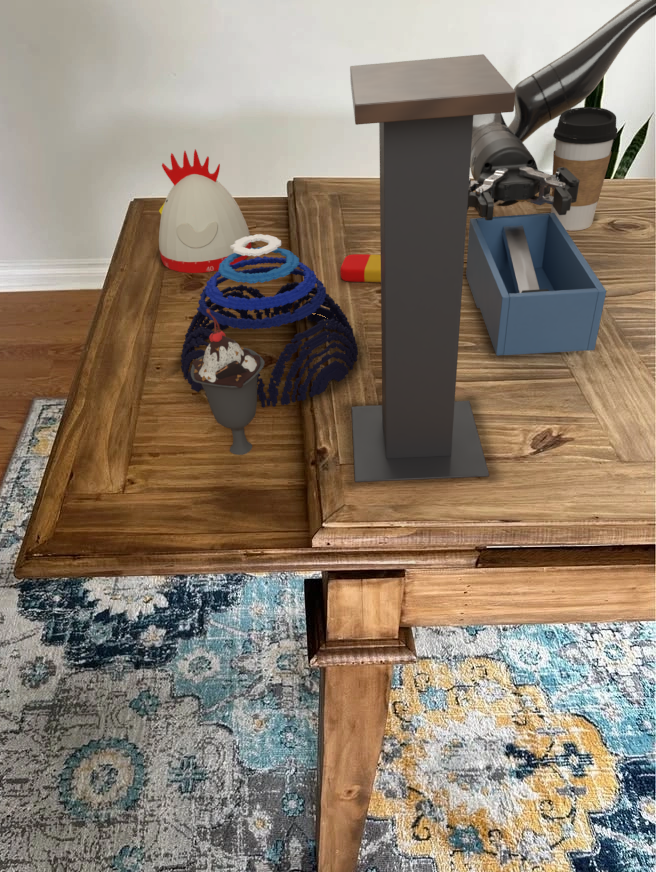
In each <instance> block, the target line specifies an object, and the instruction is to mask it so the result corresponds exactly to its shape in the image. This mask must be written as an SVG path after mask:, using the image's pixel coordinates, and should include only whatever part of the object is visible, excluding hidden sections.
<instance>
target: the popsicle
mask: <svg viewBox="0 0 656 872" xmlns="http://www.w3.org/2000/svg"><path fill="white" fill-rule="evenodd" d="M339 272H340V278H341V280H343V281H344V282H350V283H357V282H358V283H381V254H369V253H368V254H367V253H363V254H360V253H354V254H353V253H351V254H348V255H347V256H345V257H344V259H343V261H342V264H341V266H340V271H339Z"/></svg>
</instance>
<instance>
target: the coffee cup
mask: <svg viewBox="0 0 656 872" xmlns="http://www.w3.org/2000/svg"><path fill="white" fill-rule="evenodd" d="M618 130H619V129H618V128H617V116H616V114H615V113H614V112H613V111H611V110H610V109H607V108H604V107H595V106H594V107H593V106H581V107H573V108H571V109H570V110H567V111H565V112H563V113H562V114H561V115H560V116H559V118H558V122H557V126H556V127H555V128H554V131H553V135H552V136H553V138H554V139H555V145H554V147H555V148H554V150H553V153H552V154H553V159H552V175H555V174H556V172H557V168H560V167H564V168H567V169H568V170H569V171H570V172H571V173H572V174H573V175H574V176H575V177H576V178H577V179H578V180H579V181H580V182H579V188H578V194H577V201H576V202H574V203H571V207H570V211H567V213H566V215H559V214H558V213H557V211H556V210H555V208H554V207H553V205H552V204H551V207H550V208H551V209H550V213H555V215H556V216H557V218H558V219H559V221H560V222H561V224H562V225H563V227H564V228H565V230H566V231H567V232H568V231H571V232H573V231H574V232H575V231H583V230H586V229H589V228H590V227H592V225H593V222H594V219H595V214H596V210H597V206H598V203H599V199H600V196H601V193H602V189H603V186H604V182H605V178H606V174H607V171H608V167H609V163H610V160H611V156H612V151H611V150H612V147H613V144H614V140H615V139H616V138H617V137H618ZM551 196H553V197H554V188H551Z"/></svg>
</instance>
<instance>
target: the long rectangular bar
mask: <svg viewBox="0 0 656 872" xmlns="http://www.w3.org/2000/svg"><path fill="white" fill-rule="evenodd" d="M503 238H504V243H505V247H506V251H507V255H508V260H509V264H510V268H511V272H512V277H513V281H514V285H515V289H516V293H528V292H544V291H549V290H548V289H539V285H538V281H537V278H536V274H535V270H534V266H533V262H532V258H531V255H530V251H529V247H528V243H527V239H526V236H525V232H524V228H523V225H519V226H504V228H503Z"/></svg>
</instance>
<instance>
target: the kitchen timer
mask: <svg viewBox="0 0 656 872" xmlns="http://www.w3.org/2000/svg"><path fill="white" fill-rule="evenodd" d="M209 163H210V157H209V156H206V158H205V161H204V163H203V165H202V164H201V161H200V157H199V153H198V151H197V149H196V148H195V149H194V151H193V164H192V165H191V163H190V160H189V157H188V154H187V151H186V150H183V159H182V167H181V166H180V165H179V163H178V161H177V159H176V157H175V155H174V153H173V152H171V153H170V164H171V169H170V168H169V167H168V166H167V165H166V164H165V163H164V162H162V164H161V167H162V169H163V171H164V173H165V175H166V176H167V177H168V179H169V181H170V182H171V183H172V184H173V186H172V187H171V189H170V190H169V192H168V194H167V196H166V198H165V201H164V202H163V204H162V206H160V208H159V209H158V212H159V214H160V221H159V222H160V223H159V232H158V248H159V255H160V259H161V262H162V264H163V266H164V267H166V268H167V269H169V270H171V271H175V272H179V273H188V274H203V273H204V274H205V273H210V272H218V271H219V270H218V269H219V265H220V263H222V261H223V260H224V259H225V258H227V257H228V256H229V255H231V254H233V253H234V252H233V250H234V249H231V247H230V246H231V245H233V244H234V243H235V241H236V240H239V239H241V238H243V237H245V236H246V237H248V236H251V233H250V229H249V225H247V221H246V219H245V217H244V214H243V212H242V210H241V208H240V206H239V204H238V202H237V201H236V199H235V198H234V197H233V195H232V194H231V193H230V191H229V190H228V189H227V188H226V187H225V186H224V185H223V184H222V183H221V182H219V180H218V177H219V173H220V169H221V163H218V165H217V167H216V168H215V171H214V172H212V173H211V172H210V171H209V170H210V169H209V166H210V165H209ZM243 247H245V248H248V249H250V248H253V247H252V242H249V243H247V244H245V246H243ZM248 257H249V256H248V255H245V256H241V257H238V258H236V259H234V261H233V262H231V263H230V264H231V265H233V264H235V263H237V262H240V261H242V260H247V259H248ZM230 264H229V265H230Z"/></svg>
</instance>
